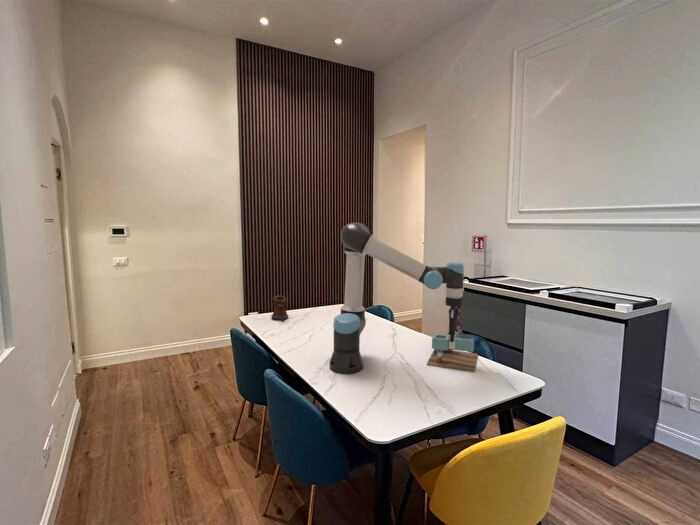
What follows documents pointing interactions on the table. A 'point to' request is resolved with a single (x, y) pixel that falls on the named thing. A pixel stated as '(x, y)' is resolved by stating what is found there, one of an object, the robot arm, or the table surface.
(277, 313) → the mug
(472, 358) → the board
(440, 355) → the peg
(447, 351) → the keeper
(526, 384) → the table surface
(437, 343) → the link
